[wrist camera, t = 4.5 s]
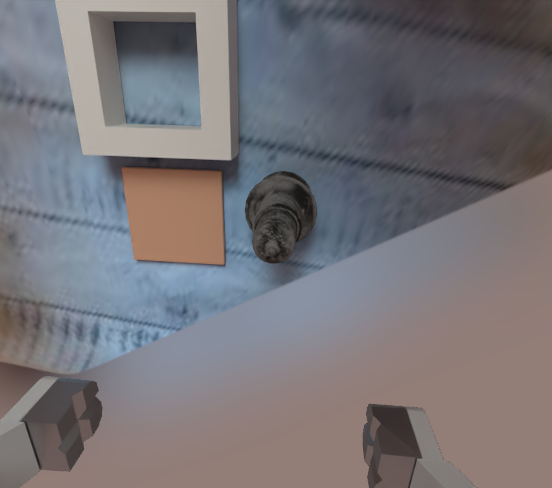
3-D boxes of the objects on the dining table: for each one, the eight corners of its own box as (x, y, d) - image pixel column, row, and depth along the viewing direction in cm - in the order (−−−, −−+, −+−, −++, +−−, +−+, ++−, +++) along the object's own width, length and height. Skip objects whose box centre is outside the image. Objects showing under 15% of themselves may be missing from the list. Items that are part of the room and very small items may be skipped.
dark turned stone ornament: (244, 220, 33) (212, 281, 22) (261, 159, 31) (235, 192, 20) (303, 238, 33) (302, 308, 22) (325, 179, 31) (335, 224, 20)
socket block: (236, -12, 26) (226, -28, 23) (239, 153, 31) (231, 160, 28) (80, -13, 27) (50, -28, 24) (105, 148, 32) (83, 154, 28)
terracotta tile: (222, 170, 31) (221, 171, 31) (225, 262, 35) (224, 264, 34) (124, 166, 32) (121, 167, 31) (136, 256, 35) (134, 259, 35)
